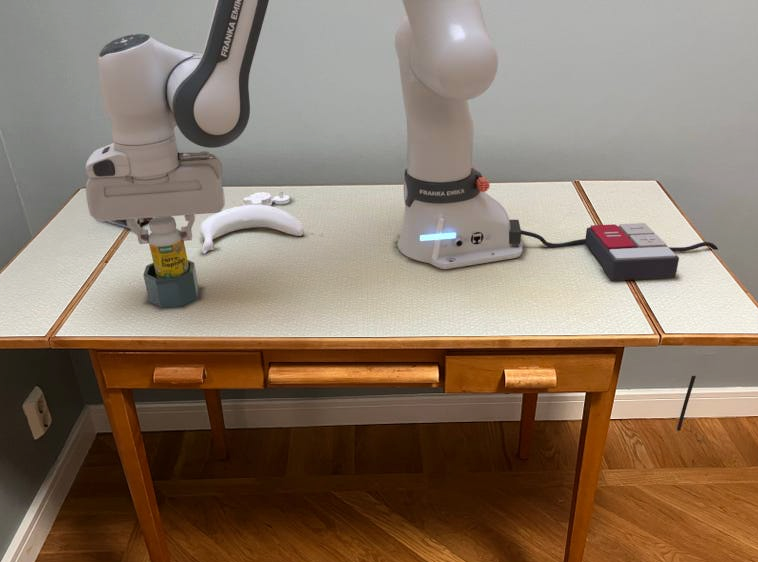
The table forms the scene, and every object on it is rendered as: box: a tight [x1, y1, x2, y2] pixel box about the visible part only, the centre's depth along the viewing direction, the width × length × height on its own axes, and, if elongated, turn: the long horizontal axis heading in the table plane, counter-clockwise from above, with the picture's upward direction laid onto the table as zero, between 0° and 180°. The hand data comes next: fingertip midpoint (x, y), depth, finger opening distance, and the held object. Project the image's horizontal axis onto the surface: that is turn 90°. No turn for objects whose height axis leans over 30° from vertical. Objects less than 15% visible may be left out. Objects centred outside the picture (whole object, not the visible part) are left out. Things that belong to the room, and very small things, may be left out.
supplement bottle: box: [148, 216, 189, 279], centre depth 118 cm, size 5×5×10 cm
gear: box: [233, 191, 291, 206], centre depth 153 cm, size 9×9×2 cm
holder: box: [143, 259, 200, 309], centre depth 122 cm, size 8×8×5 cm
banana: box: [199, 205, 304, 254], centre depth 139 cm, size 5×19×15 cm
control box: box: [584, 222, 680, 281], centre depth 129 cm, size 11×4×15 cm
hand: (165, 240), depth 117 cm, fingers closed on supplement bottle, 5 cm apart
